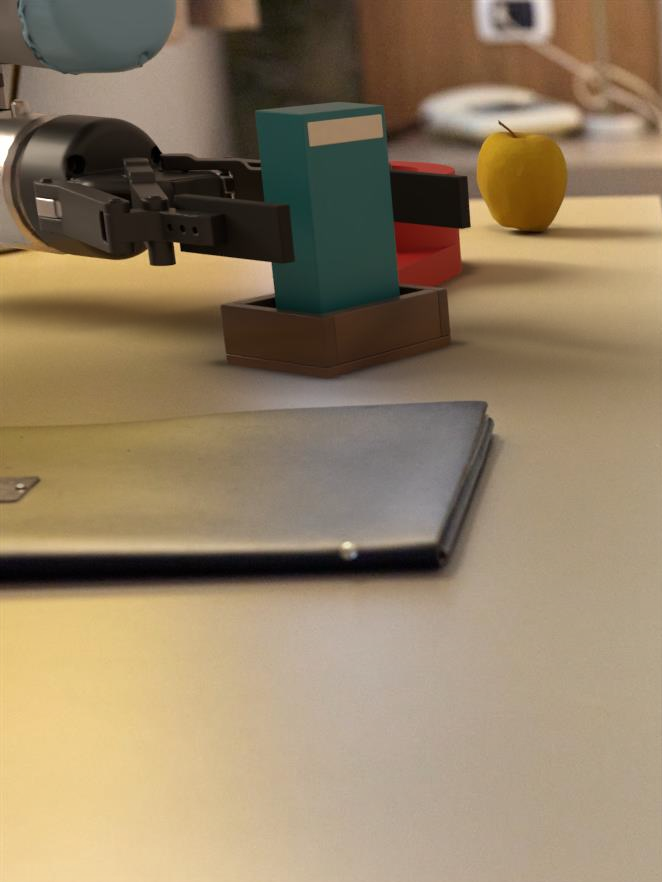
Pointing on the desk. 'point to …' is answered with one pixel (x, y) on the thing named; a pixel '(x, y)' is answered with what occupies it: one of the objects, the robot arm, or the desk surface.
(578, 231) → the desk surface
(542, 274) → the desk surface
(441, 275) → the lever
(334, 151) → the box
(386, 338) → the box
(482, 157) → the apple
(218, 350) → the desk surface
